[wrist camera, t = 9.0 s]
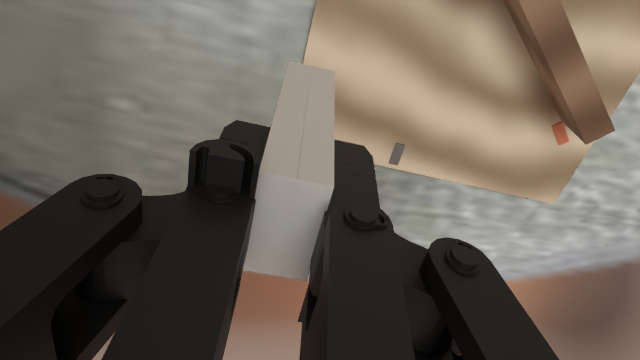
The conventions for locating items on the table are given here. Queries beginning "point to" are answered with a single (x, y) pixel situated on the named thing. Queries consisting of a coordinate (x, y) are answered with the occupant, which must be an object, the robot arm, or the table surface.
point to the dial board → (465, 87)
